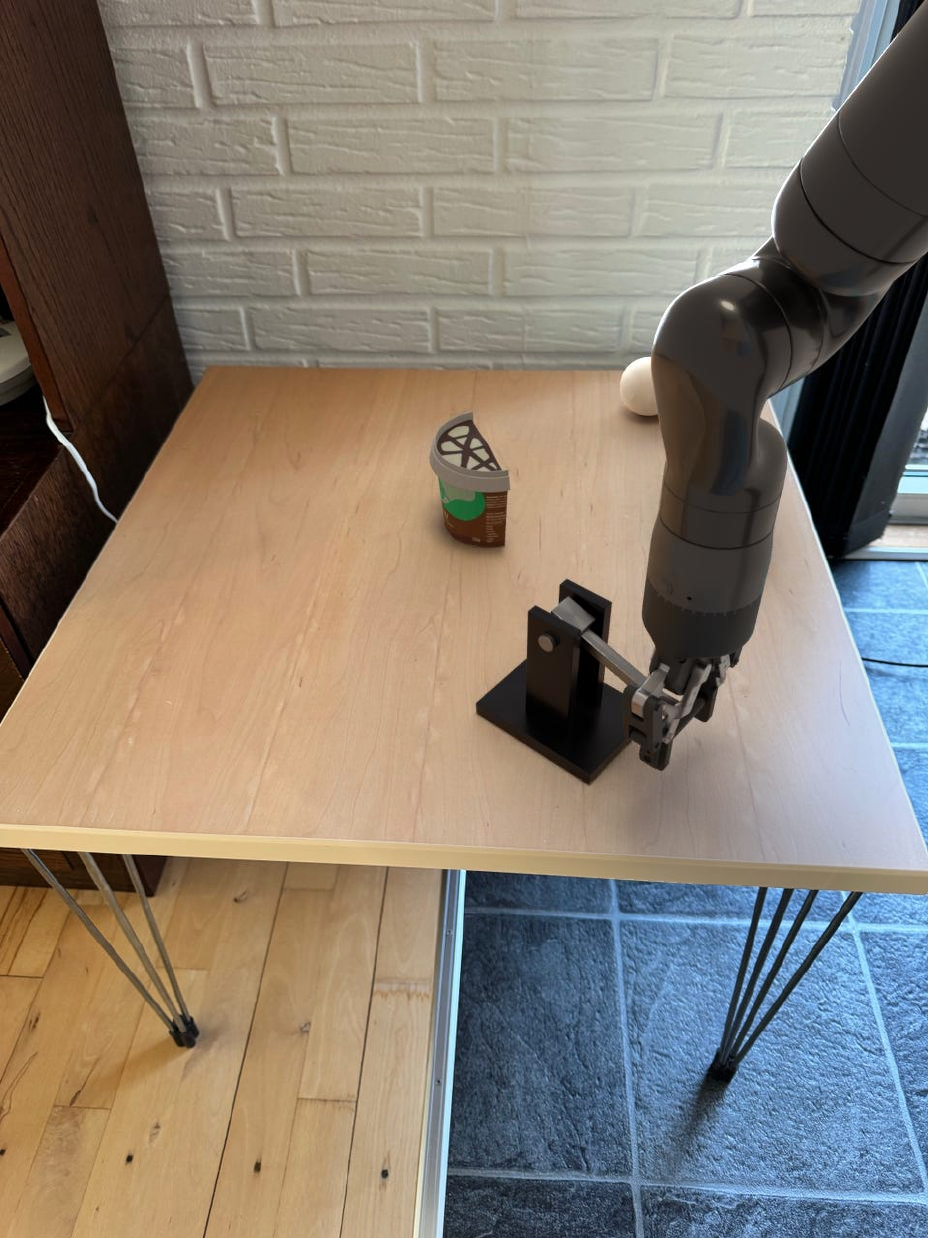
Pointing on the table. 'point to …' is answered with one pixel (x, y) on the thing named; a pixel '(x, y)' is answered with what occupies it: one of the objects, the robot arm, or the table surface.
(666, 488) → the robot arm
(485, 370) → the table surface
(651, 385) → the cream ball
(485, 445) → the food container
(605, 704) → the bracket
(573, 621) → the lever
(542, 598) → the table surface
